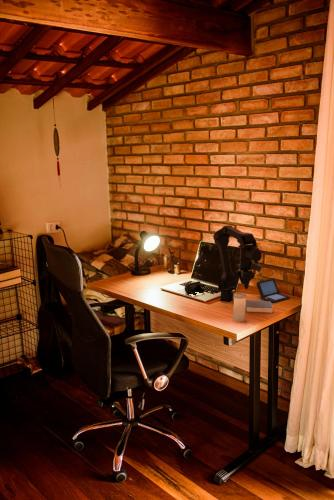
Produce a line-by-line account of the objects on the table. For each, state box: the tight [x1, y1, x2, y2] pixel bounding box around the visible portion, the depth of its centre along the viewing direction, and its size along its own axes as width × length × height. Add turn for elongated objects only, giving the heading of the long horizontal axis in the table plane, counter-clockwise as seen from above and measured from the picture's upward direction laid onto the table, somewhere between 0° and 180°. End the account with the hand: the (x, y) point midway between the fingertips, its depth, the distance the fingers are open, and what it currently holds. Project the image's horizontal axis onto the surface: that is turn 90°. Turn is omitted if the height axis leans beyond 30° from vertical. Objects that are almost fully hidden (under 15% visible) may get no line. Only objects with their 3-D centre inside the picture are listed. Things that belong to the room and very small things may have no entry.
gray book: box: [245, 299, 274, 314], centre depth 249 cm, size 14×10×3 cm
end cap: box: [184, 281, 206, 295], centre depth 273 cm, size 10×7×7 cm
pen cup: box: [232, 292, 247, 323], centre depth 233 cm, size 6×6×13 cm
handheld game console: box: [256, 278, 291, 304], centre depth 267 cm, size 16×13×9 cm
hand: (244, 286), depth 245 cm, fingers open, 9 cm apart
